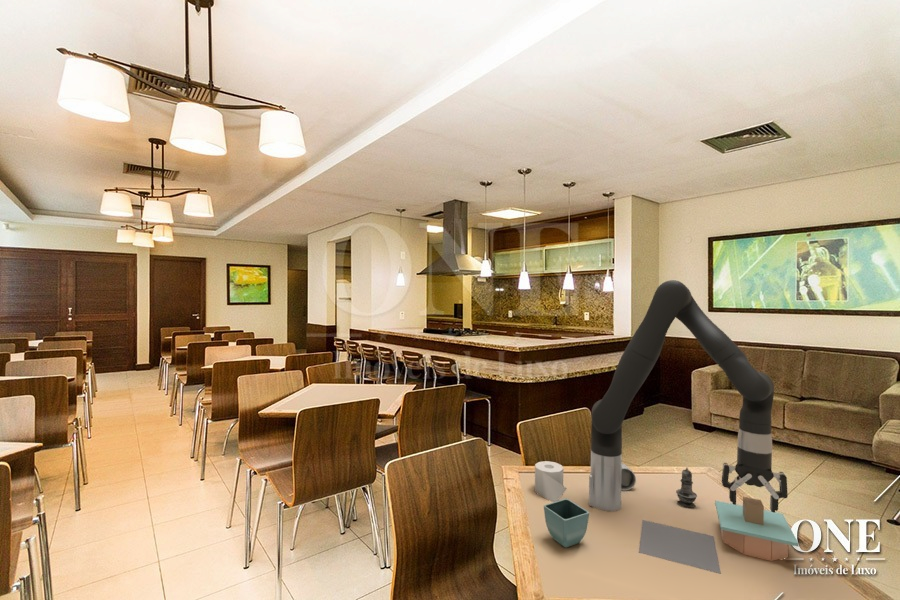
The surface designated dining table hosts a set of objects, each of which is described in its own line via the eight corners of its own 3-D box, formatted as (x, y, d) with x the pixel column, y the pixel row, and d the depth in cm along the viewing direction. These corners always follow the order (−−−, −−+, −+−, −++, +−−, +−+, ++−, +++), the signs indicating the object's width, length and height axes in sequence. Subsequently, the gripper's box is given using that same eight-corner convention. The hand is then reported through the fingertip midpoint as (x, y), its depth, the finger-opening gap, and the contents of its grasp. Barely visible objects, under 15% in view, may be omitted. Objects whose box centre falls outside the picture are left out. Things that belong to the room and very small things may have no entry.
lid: (721, 529, 111) (721, 507, 111) (714, 503, 125) (715, 483, 125) (798, 546, 103) (799, 523, 103) (782, 516, 118) (783, 495, 118)
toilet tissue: (558, 505, 135) (558, 478, 135) (529, 489, 146) (529, 464, 146) (577, 498, 140) (577, 472, 140) (548, 483, 151) (548, 459, 151)
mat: (638, 554, 110) (638, 552, 110) (642, 521, 126) (642, 519, 126) (720, 575, 102) (720, 573, 102) (713, 537, 118) (713, 536, 118)
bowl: (724, 551, 111) (725, 528, 111) (719, 525, 124) (719, 505, 124) (791, 567, 105) (792, 543, 105) (778, 538, 117) (779, 517, 117)
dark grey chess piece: (691, 500, 139) (692, 464, 139) (700, 509, 133) (701, 471, 133) (672, 499, 140) (673, 463, 139) (680, 508, 134) (681, 470, 133)
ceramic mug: (628, 480, 153) (627, 459, 153) (636, 491, 145) (636, 468, 145) (598, 480, 154) (597, 459, 154) (604, 490, 146) (604, 468, 146)
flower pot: (564, 554, 109) (565, 520, 109) (542, 537, 117) (542, 504, 117) (589, 545, 113) (590, 512, 113) (566, 529, 121) (566, 498, 121)
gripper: (784, 447, 114) (782, 507, 114) (721, 438, 121) (720, 495, 121) (791, 457, 107) (789, 520, 108) (724, 446, 114) (723, 506, 114)
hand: (752, 507), depth 114 cm, fingers open, 8 cm apart
